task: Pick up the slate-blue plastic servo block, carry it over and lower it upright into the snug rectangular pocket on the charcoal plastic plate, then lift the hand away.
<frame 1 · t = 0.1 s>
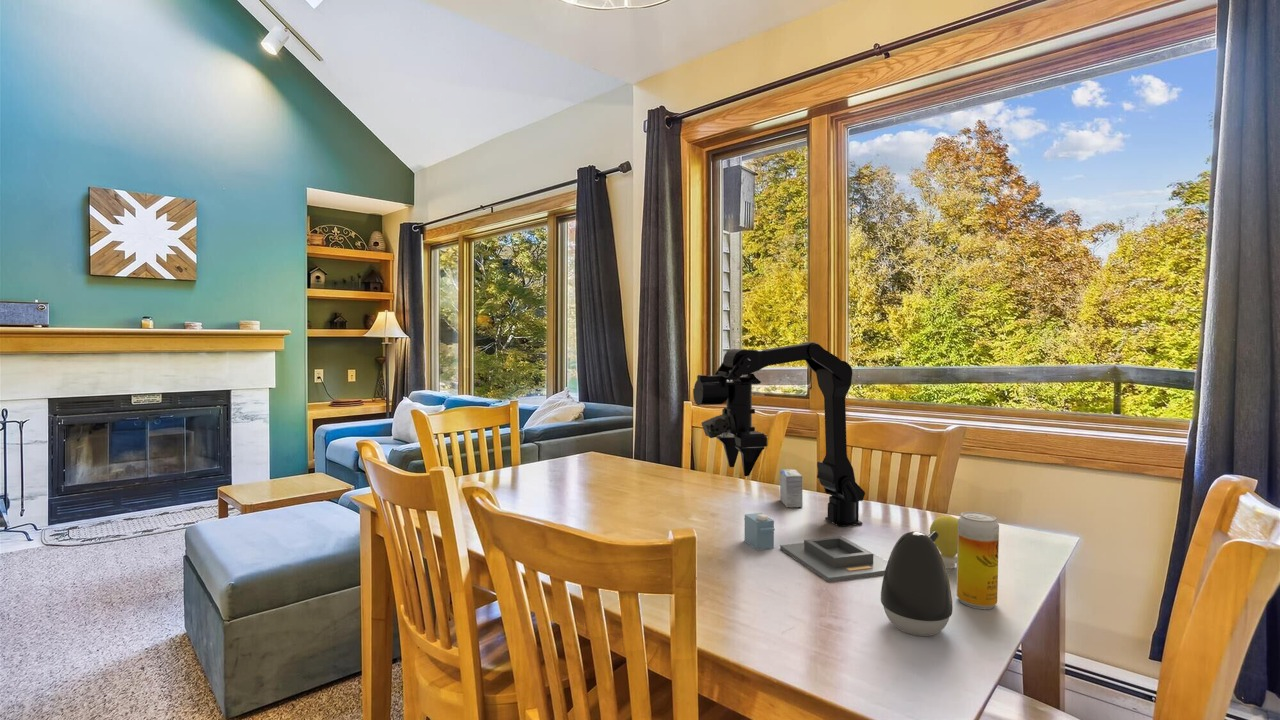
hand: (738, 471, 138), 14 cm above the table, tool pointing down, fingers open, 9 cm apart
dark egg-shaped diffuser: (915, 629, 94), on the table
beer can: (976, 603, 103), on the table
servo block: (758, 544, 132), on the table
medicine box: (790, 504, 163), on the table
light bulb: (947, 567, 119), on the table
chassis plate: (837, 560, 122), on the table
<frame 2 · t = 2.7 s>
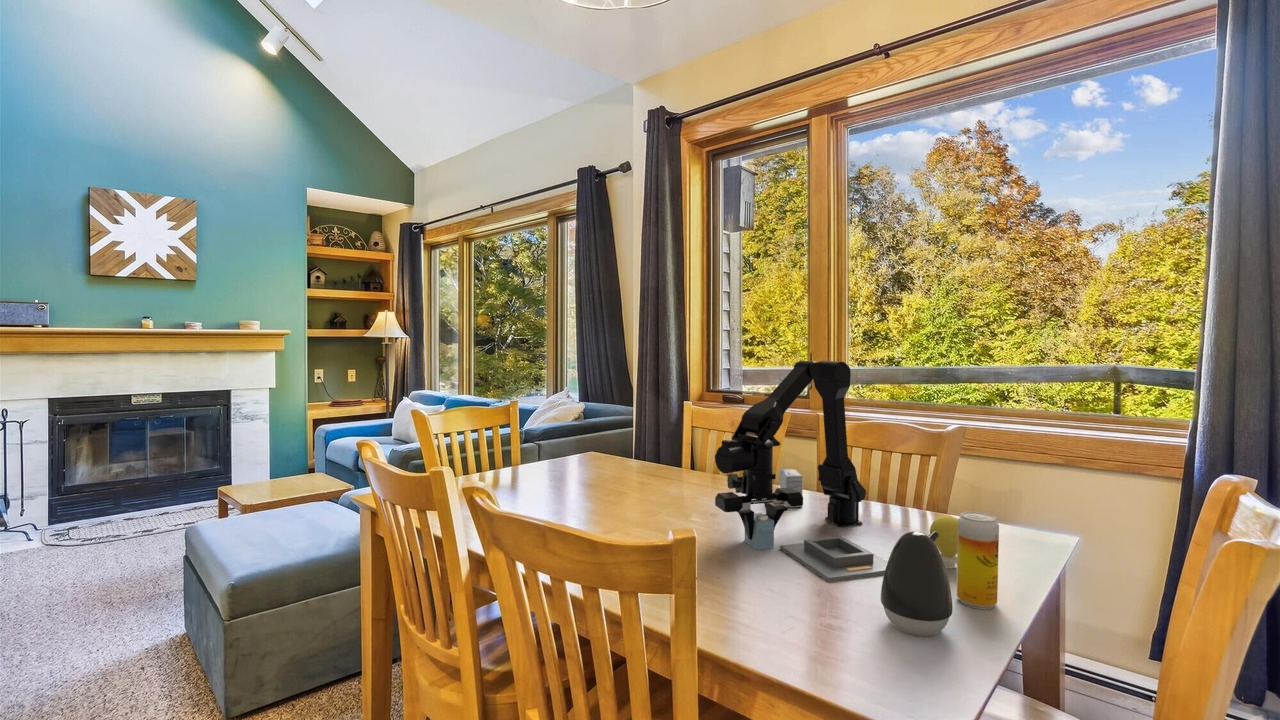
hand: (758, 538, 132), 1 cm above the table, tool pointing down, fingers closed on servo block, 4 cm apart
servo block: (758, 544, 132), on the table, touching gripper
everything else where it was.
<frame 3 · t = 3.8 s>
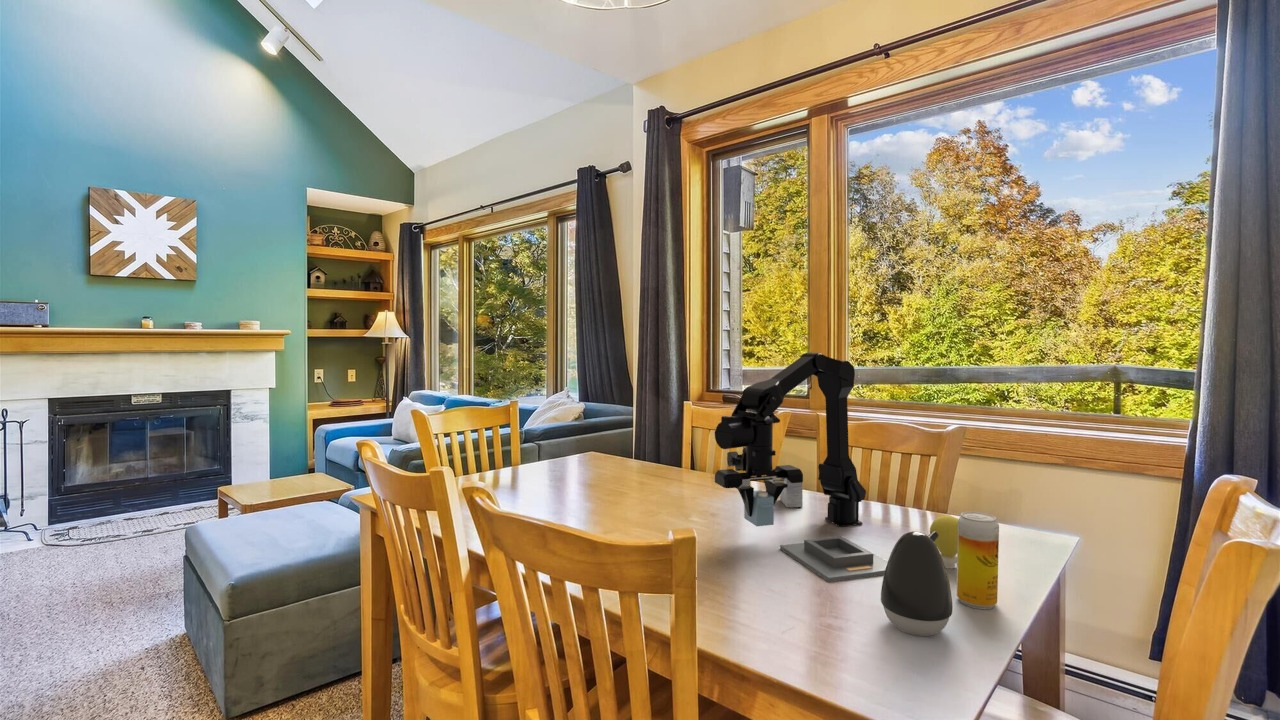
hand: (758, 515, 131), 6 cm above the table, tool pointing down, fingers closed on servo block, 4 cm apart
servo block: (758, 521, 131), point 5 cm above the table, touching gripper
everything else where it was.
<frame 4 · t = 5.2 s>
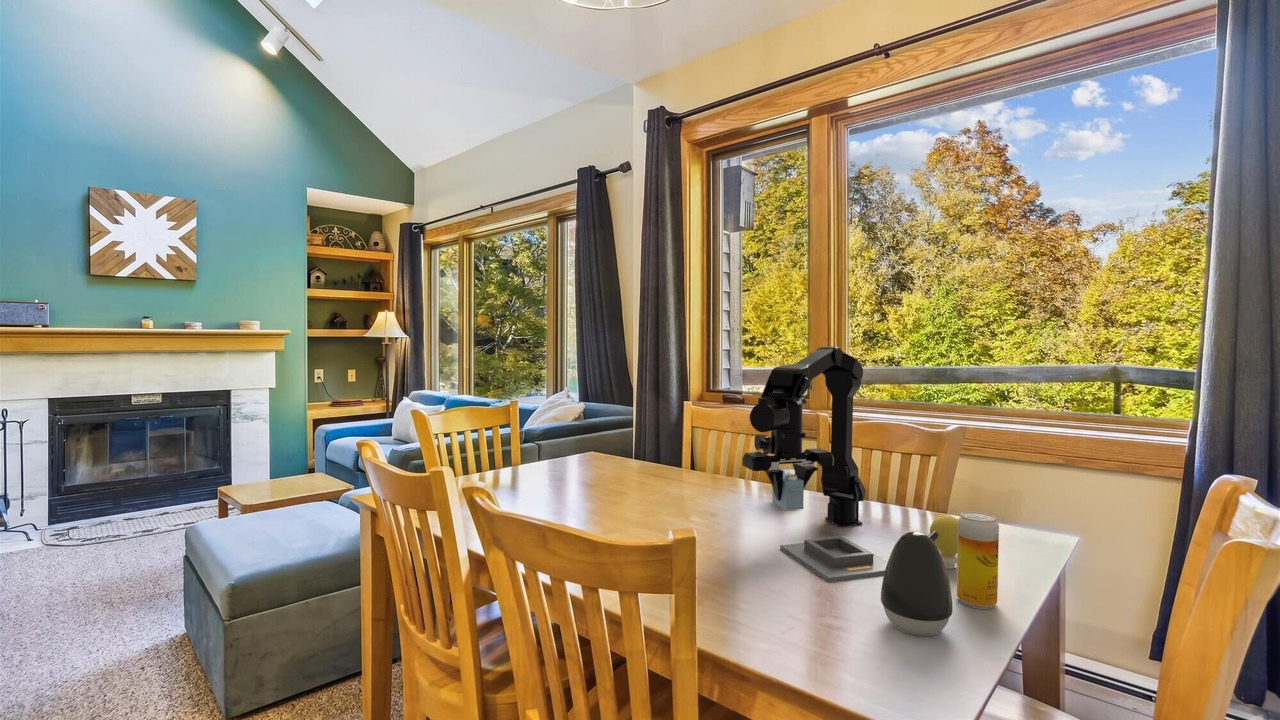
hand: (787, 499, 128), 11 cm above the table, tool pointing down, fingers closed on servo block, 4 cm apart
servo block: (787, 505, 128), point 10 cm above the table, touching gripper
everything else where it was.
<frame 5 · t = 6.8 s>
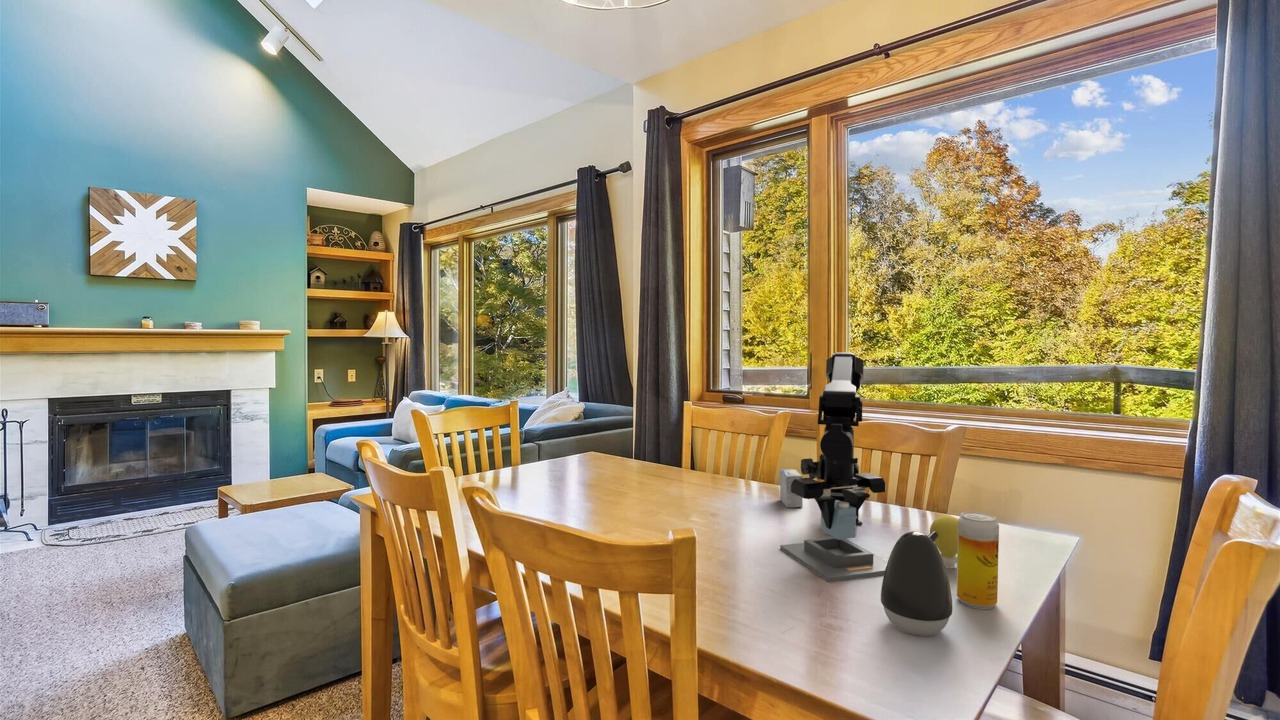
hand: (837, 527, 122), 7 cm above the table, tool pointing down, fingers closed on servo block, 4 cm apart
servo block: (838, 533, 122), point 5 cm above the table, touching gripper
everything else where it was.
when the fingers open (4 cm above the table, at t = 8.0 s): servo block drops 2 cm, resting on chassis plate.
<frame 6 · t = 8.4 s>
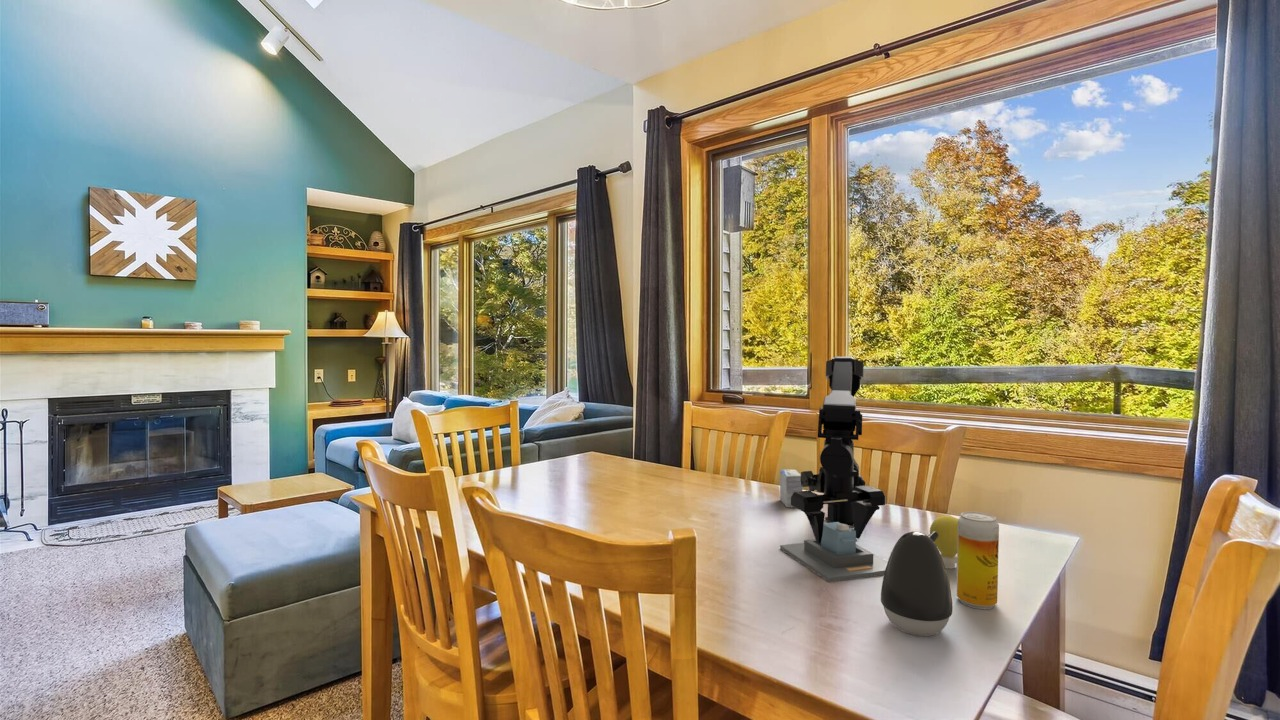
hand: (837, 540, 122), 4 cm above the table, tool pointing down, fingers open, 9 cm apart
servo block: (837, 556, 122), point 1 cm above the table, touching chassis plate
everything else where it was.
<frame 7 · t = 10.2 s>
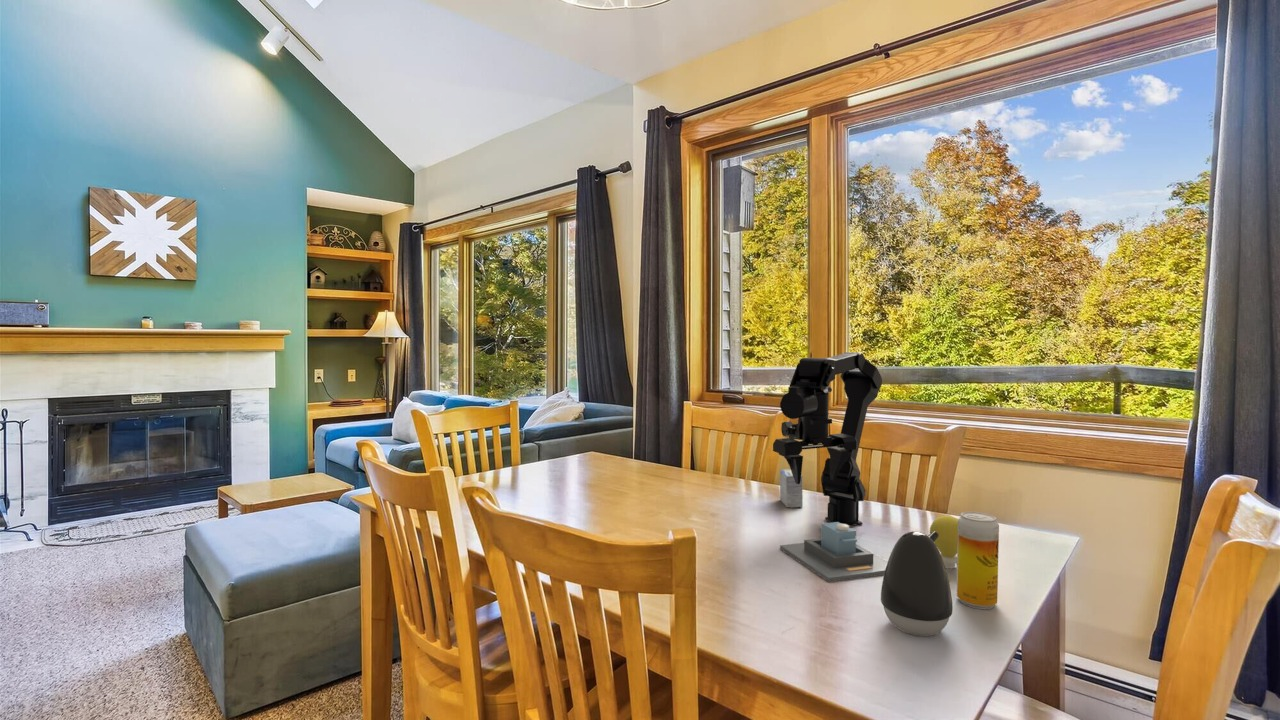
hand: (815, 481, 136), 13 cm above the table, tool pointing down, fingers open, 9 cm apart
nothing on the table moved.
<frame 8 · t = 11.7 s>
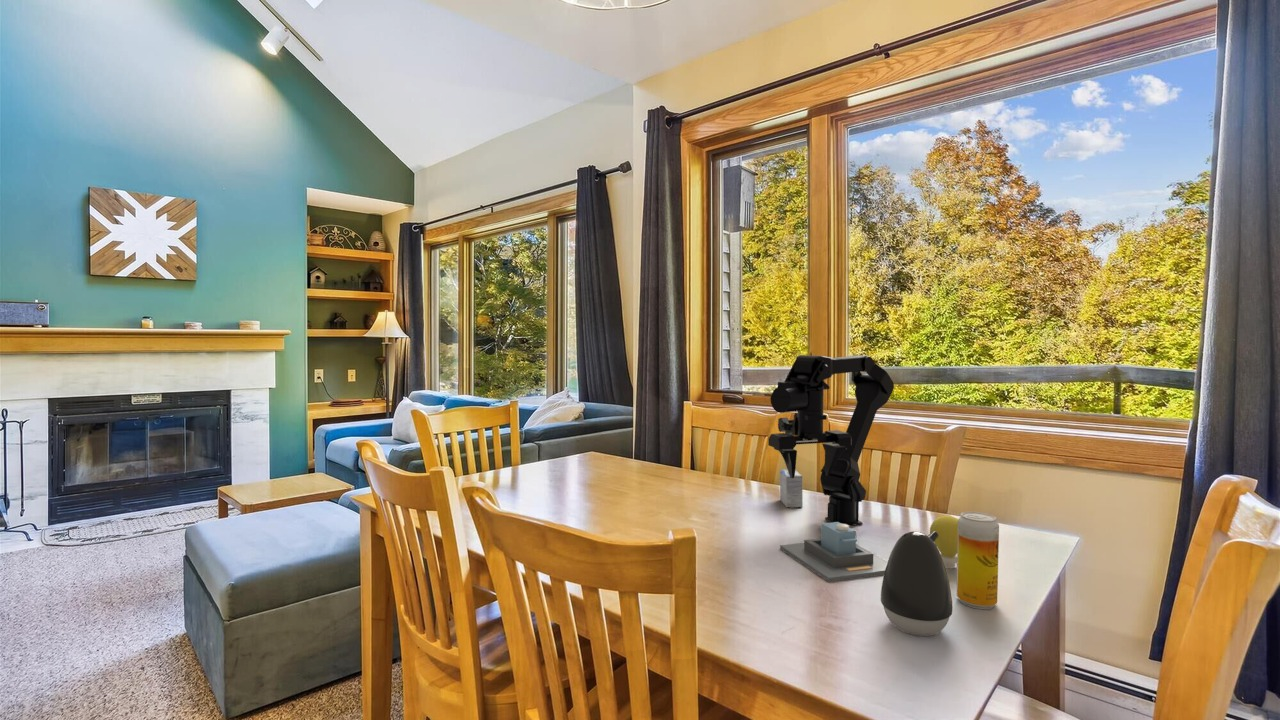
hand: (809, 476, 139), 13 cm above the table, tool pointing down, fingers open, 9 cm apart
nothing on the table moved.
at the end: servo block 0.1 cm off-centre on the chassis plate, point 0.8 cm above the chassis plate's base; servo block tilted 0°; the gripper is holding nothing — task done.
